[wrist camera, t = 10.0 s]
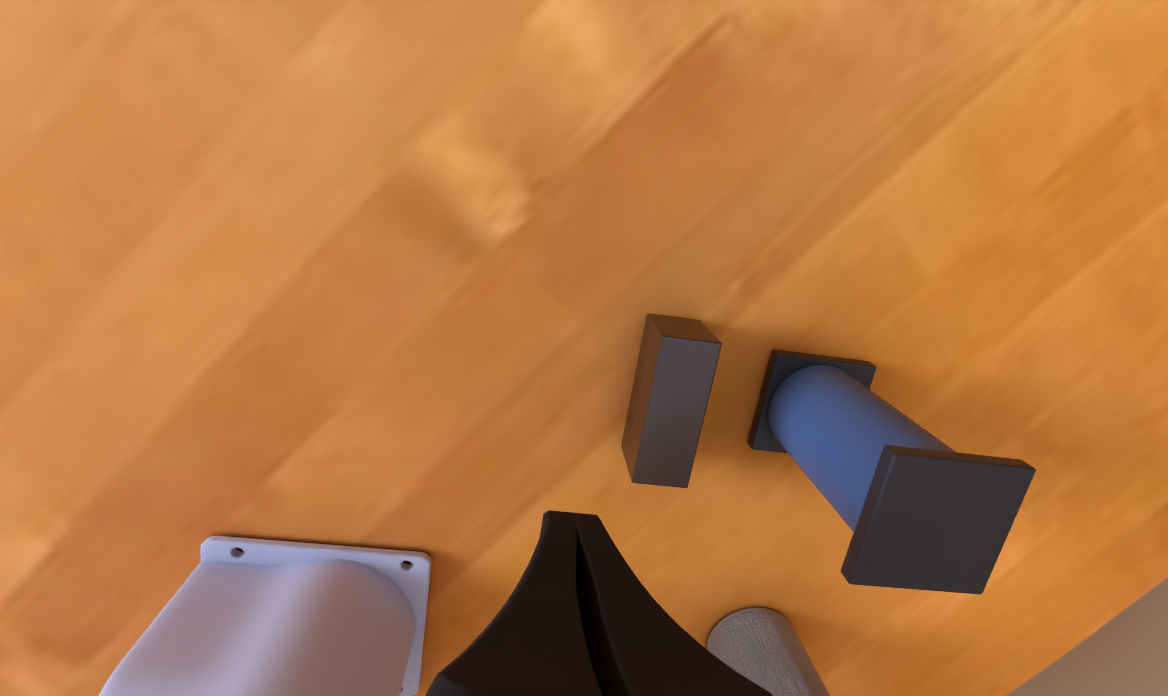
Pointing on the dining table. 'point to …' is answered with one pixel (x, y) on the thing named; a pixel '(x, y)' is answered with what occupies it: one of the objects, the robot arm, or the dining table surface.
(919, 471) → the spool
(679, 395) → the block
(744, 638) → the grey hollow cylinder
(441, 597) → the dining table surface
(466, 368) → the dining table surface
